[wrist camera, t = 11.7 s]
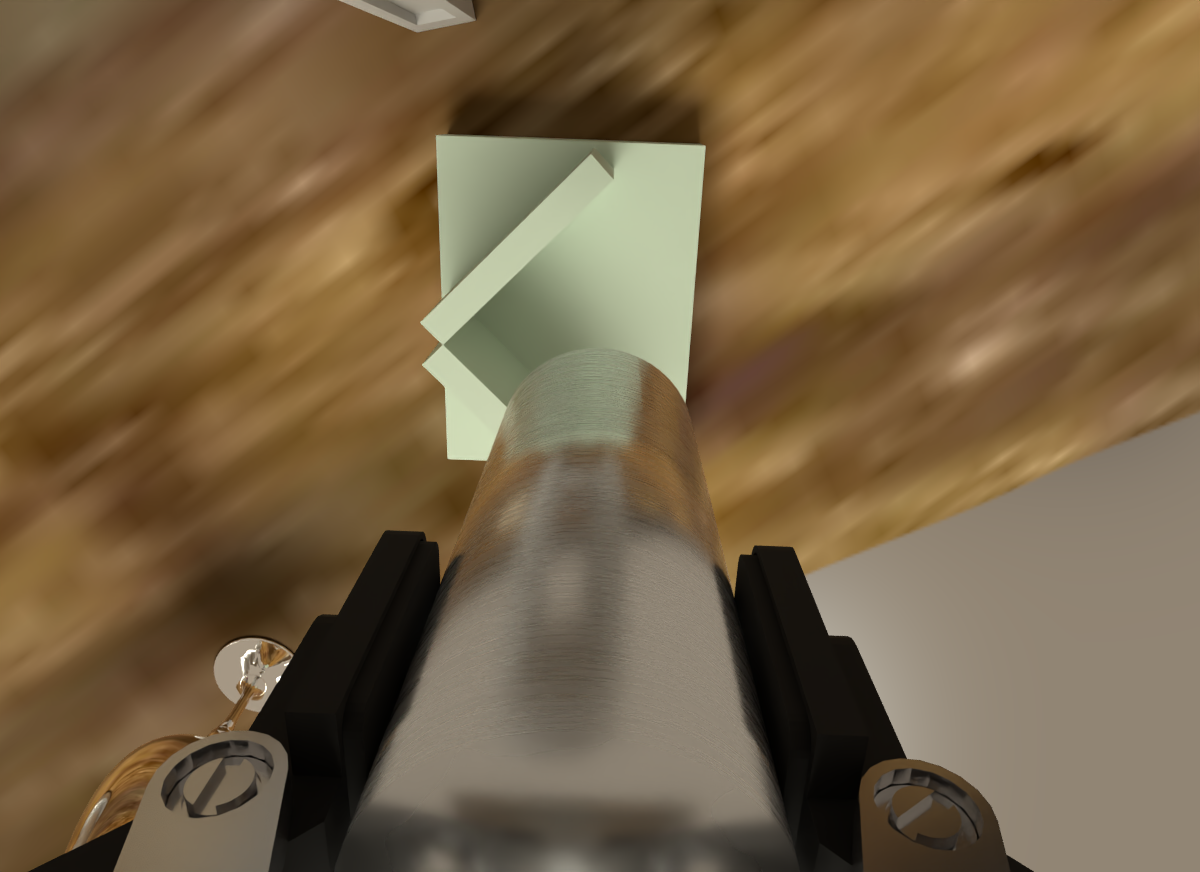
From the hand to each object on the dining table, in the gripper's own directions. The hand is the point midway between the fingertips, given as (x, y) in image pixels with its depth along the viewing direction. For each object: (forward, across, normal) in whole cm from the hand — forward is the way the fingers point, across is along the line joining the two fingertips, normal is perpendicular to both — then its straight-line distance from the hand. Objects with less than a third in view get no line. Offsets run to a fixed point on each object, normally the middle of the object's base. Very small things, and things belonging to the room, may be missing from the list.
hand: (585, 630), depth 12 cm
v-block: (+22, +1, 0) cm, 22 cm away
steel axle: (+7, 0, 0) cm, 7 cm away
